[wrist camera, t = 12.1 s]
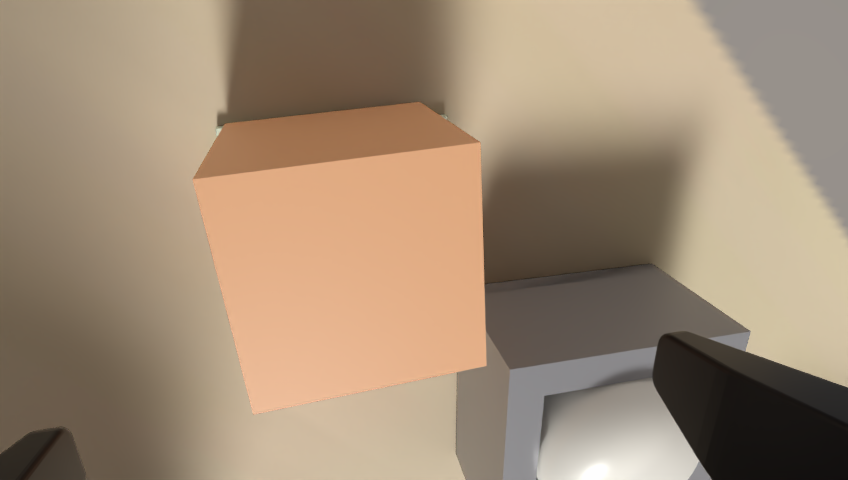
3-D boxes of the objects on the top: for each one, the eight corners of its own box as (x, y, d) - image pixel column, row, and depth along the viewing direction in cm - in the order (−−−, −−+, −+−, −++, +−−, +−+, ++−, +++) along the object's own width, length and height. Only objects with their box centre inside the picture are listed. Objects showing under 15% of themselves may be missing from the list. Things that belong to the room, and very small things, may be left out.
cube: (263, 297, 15) (253, 414, 11) (224, 123, 13) (192, 179, 9) (431, 268, 16) (486, 365, 12) (419, 101, 14) (480, 142, 10)
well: (455, 453, 20) (497, 563, 16) (458, 287, 17) (510, 369, 13) (624, 421, 21) (700, 514, 17) (652, 263, 18) (750, 331, 15)
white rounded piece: (493, 442, 19) (541, 543, 15) (499, 326, 17) (556, 410, 13) (615, 419, 20) (687, 509, 16) (633, 307, 18) (720, 381, 14)
